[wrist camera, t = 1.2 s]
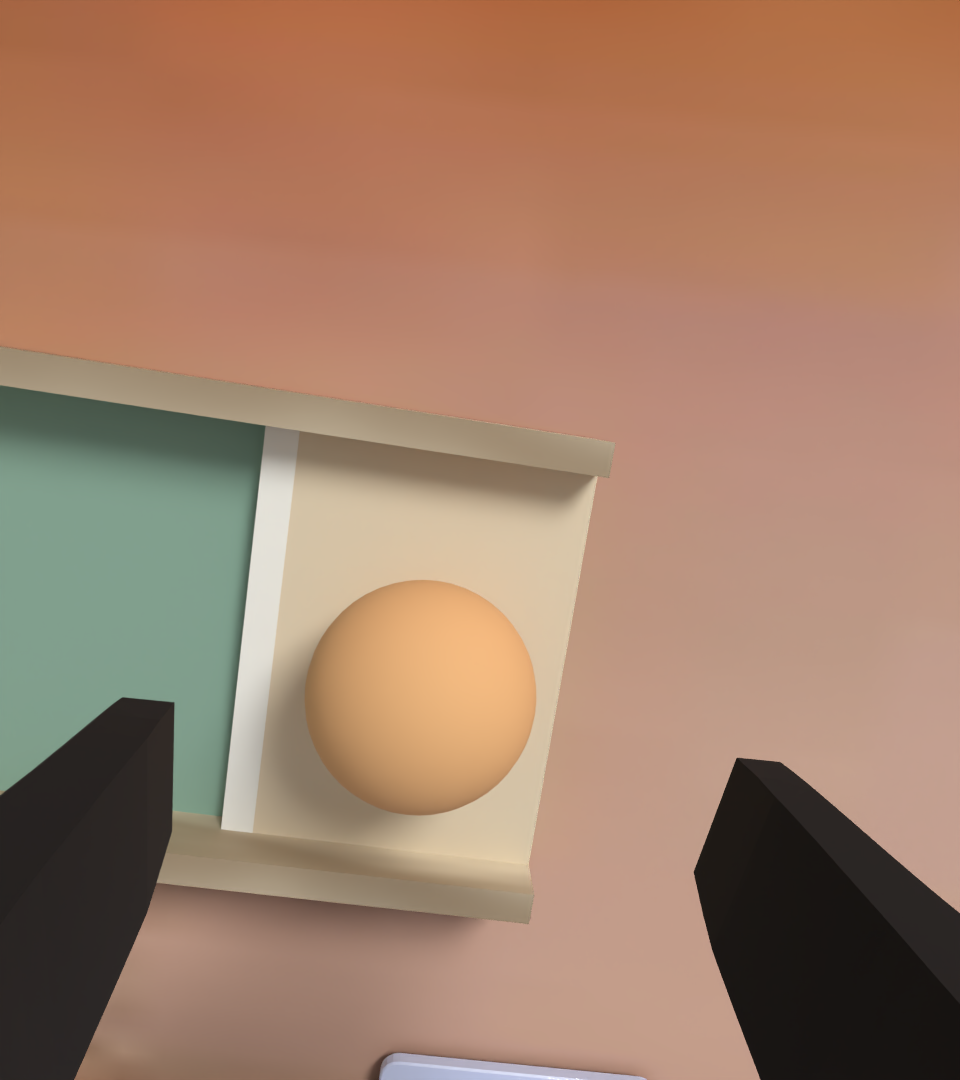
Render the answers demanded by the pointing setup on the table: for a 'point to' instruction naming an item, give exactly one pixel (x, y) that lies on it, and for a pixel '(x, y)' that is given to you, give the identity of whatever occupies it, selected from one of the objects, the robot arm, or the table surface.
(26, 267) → the table surface
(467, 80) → the table surface
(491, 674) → the ball
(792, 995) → the robot arm
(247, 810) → the lane
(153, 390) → the rails
